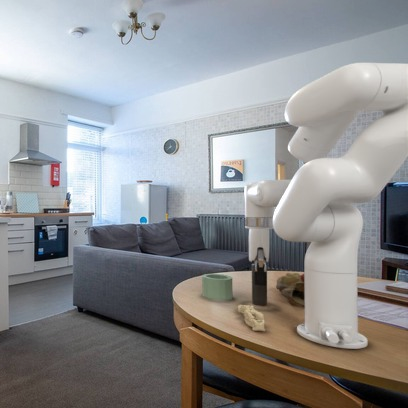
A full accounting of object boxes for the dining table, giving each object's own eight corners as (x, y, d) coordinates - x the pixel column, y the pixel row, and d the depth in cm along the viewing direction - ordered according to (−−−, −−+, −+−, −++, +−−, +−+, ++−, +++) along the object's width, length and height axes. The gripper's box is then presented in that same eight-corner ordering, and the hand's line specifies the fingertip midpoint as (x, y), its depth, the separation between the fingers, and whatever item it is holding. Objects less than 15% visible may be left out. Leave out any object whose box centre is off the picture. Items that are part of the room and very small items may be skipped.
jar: (232, 303, 102) (232, 280, 102) (201, 299, 106) (200, 278, 106) (232, 296, 110) (232, 275, 110) (203, 293, 114) (203, 272, 114)
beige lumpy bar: (270, 333, 78) (270, 318, 78) (253, 332, 79) (253, 317, 79) (245, 310, 95) (245, 298, 95) (231, 309, 96) (231, 297, 96)
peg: (267, 307, 97) (267, 266, 97) (252, 305, 98) (251, 265, 98) (266, 303, 100) (266, 264, 100) (251, 301, 102) (251, 263, 102)
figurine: (283, 280, 97) (275, 265, 115) (282, 310, 97) (273, 290, 115) (347, 288, 90) (327, 270, 108) (345, 319, 91) (326, 297, 109)
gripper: (244, 221, 109) (245, 275, 109) (245, 224, 93) (246, 287, 93) (271, 222, 105) (272, 277, 105) (276, 225, 90) (277, 290, 90)
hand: (259, 281), depth 99 cm, fingers open, 7 cm apart
